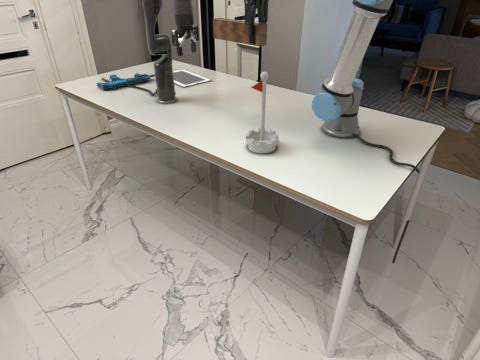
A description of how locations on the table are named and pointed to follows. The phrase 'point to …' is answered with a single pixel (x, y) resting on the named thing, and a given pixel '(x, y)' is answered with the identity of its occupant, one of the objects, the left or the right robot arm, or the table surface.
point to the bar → (239, 31)
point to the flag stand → (262, 125)
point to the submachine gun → (124, 81)
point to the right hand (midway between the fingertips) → (256, 42)
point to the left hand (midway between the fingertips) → (187, 53)
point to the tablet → (187, 78)
